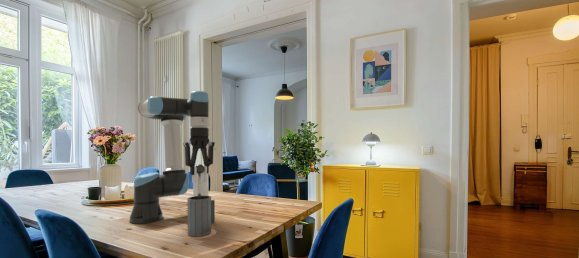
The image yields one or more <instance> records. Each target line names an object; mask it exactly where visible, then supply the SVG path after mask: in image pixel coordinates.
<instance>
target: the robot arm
mask: <svg viewBox="0 0 579 258" xmlns="http://www.w3.org/2000/svg"><path fill="white" fill-rule="evenodd" d="M209 101H210V99H209V93H208V92H206V91H201V90H195V91H194V90H193V91H191V92H190V95H189V98H177V97H167V96H165V97H164V96H157V95H156V96H155V95H154V96H149V97H148V98H145V99H142V100H141V101H140V102H138V105H137V111H138V113H139V114H140V115H141V116H143V118H147V119H152V120H160V124H161V125H162V126H163V136H164V137H163V139H164V140H163V141H164V143H163V144H164V163H165V166H164V167H165V168H164V169H163V170H162V174H160V173H159V172H150V173H144V174H141V175H137V176H136V177H135V178H134V180H133V207H132V210H131V212H130V215H129V222H130V223H131V224H147V223H154V222H156V221H160V220H162V219H163V216H164V215H163V211H162V208H161V205H160V198H165V197H174V196H175V197H176V196H181V195H184V194H186V193H187V192H188V190H189V186H190V176H191V182H192V184H193V183H197V167H196V162H197V156H198V152H199V150H200V151H201V155H202V161H203V162H202V163H203V166H204V172H203V173H202V181H204V182H207V174H208V175H209V171H210V168H209V167H210V166H211V165H213V164H214V148H215V143H216V142H214V141H211V140H210V139H209V130H210V129H209V124H210V123H209V108H210V106H209V104H210V102H209ZM187 117H189V118H190V122H189V123H190V124H189V125H190V128H189V129H190V131H189V133H190V135H189V136H190V137H189V141H185V142H183V147H184V157H185V159H184V160H185V161H184V162H185V166H187V167H189V173H188V172H186V169H185V168H184V167H183V158H182V157H183V156H182V155H183V154H182V138H181V137H182V136H181V125H182V124H183V122H184V121H185V120H186V118H187ZM207 146H208V147H207ZM191 148H192V152H191ZM207 148H208V149H207Z"/></svg>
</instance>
